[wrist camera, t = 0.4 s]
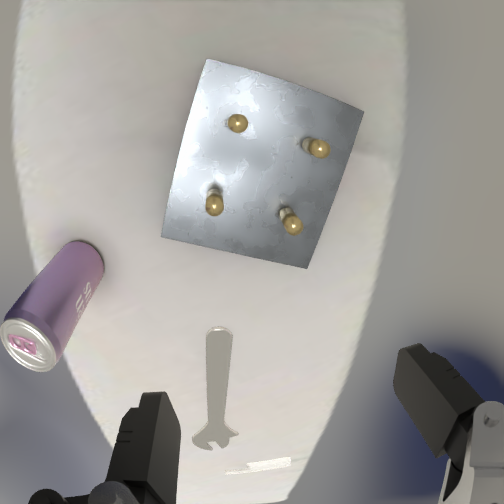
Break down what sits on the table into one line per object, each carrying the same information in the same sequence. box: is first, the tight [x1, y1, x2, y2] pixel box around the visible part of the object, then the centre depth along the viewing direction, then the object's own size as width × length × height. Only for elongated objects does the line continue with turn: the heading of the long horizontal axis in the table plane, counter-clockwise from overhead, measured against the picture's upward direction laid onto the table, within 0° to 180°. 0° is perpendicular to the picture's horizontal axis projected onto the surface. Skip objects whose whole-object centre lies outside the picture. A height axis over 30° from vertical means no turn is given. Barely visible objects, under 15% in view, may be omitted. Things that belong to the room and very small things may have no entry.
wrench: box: [192, 327, 238, 450], centre depth 45 cm, size 8×32×1 cm, turn 174°
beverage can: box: [0, 241, 104, 372], centre depth 25 cm, size 6×6×15 cm
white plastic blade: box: [225, 456, 291, 475], centre depth 56 cm, size 5×15×1 cm, turn 95°
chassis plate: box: [161, 59, 364, 269], centre depth 28 cm, size 18×16×5 cm
